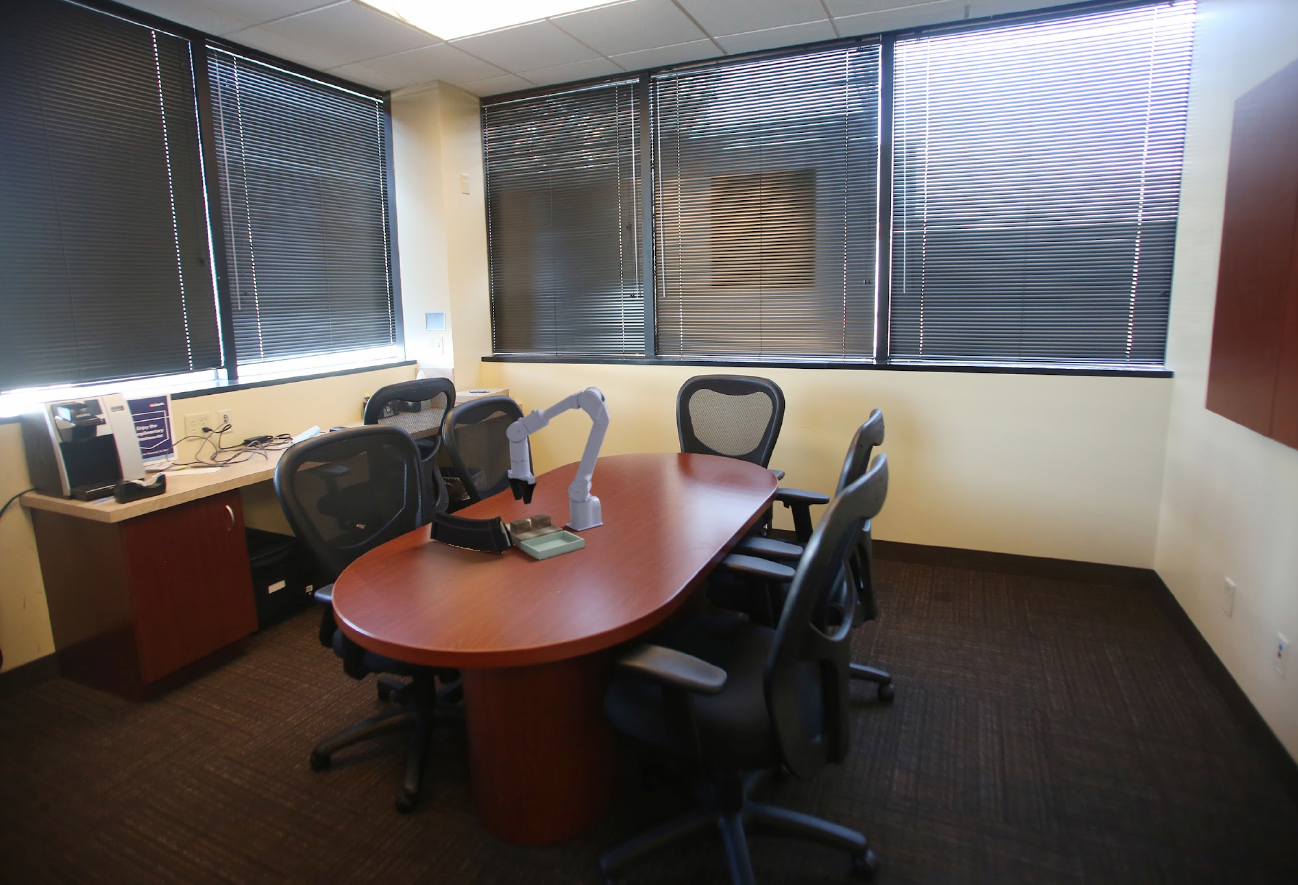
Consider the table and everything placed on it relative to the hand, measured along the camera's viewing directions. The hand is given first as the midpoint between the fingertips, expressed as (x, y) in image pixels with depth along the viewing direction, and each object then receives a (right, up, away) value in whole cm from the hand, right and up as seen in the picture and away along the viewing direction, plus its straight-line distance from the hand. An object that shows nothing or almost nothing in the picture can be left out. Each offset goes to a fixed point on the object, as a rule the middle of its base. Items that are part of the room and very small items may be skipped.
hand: (523, 501), depth 225 cm
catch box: (+12, -12, -19) cm, 26 cm away
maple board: (+4, -10, -8) cm, 14 cm away
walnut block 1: (+1, -8, -12) cm, 14 cm away
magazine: (-12, -13, -16) cm, 24 cm away
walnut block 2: (+7, -7, -8) cm, 12 cm away
